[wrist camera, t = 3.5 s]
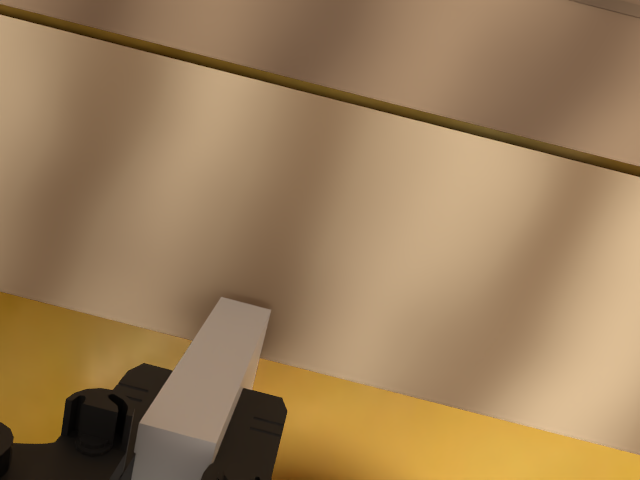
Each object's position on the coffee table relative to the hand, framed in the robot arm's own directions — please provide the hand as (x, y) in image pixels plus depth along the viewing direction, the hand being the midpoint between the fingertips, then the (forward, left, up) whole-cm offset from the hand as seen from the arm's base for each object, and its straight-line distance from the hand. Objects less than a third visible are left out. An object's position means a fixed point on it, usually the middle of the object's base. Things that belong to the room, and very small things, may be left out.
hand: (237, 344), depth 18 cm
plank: (0, +3, -3) cm, 4 cm away
